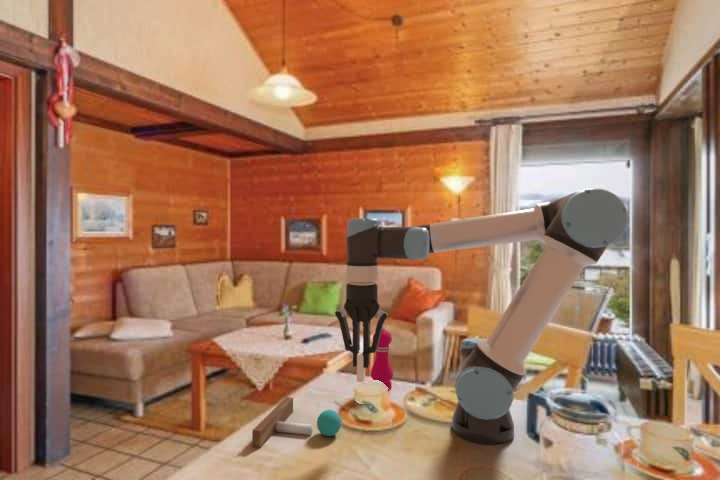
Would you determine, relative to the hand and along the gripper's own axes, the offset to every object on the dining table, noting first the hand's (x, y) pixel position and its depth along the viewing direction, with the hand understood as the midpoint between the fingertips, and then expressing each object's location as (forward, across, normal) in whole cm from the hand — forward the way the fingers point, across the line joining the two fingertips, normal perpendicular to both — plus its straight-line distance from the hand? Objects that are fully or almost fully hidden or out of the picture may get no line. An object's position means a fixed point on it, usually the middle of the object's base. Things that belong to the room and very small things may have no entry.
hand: (361, 380), depth 105 cm
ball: (+11, +8, 0) cm, 14 cm away
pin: (+13, +12, +1) cm, 18 cm away
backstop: (+14, +22, 0) cm, 27 cm away
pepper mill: (+15, +1, -34) cm, 37 cm away
